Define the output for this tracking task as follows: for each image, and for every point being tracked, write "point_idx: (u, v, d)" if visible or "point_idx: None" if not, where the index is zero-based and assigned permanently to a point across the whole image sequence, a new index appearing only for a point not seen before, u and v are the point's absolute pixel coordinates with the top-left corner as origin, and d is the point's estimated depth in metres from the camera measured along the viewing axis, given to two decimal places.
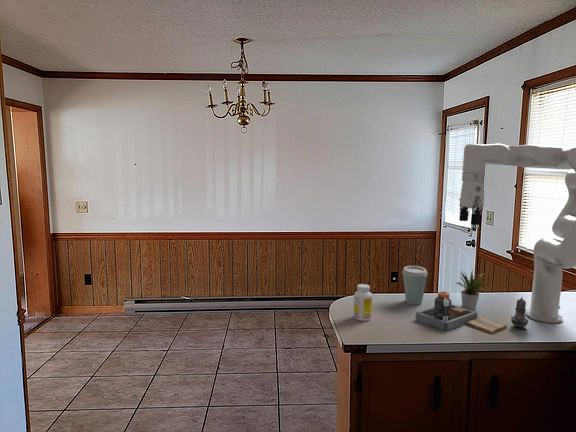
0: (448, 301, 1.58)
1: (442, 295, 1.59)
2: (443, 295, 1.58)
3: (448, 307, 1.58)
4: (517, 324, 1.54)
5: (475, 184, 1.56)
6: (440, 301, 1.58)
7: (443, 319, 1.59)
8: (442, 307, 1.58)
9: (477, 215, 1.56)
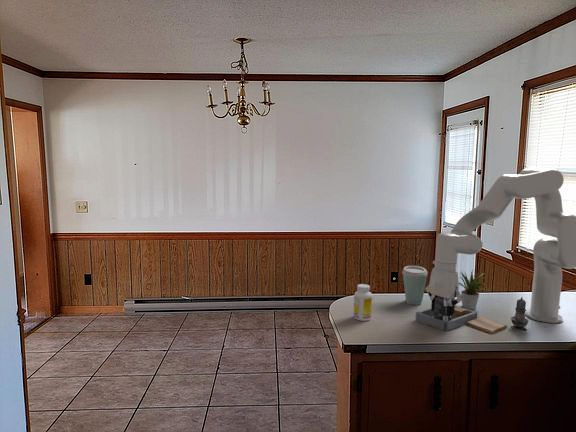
0: None
1: None
2: None
3: None
4: (517, 324, 1.54)
5: None
6: (440, 301, 1.58)
7: (443, 319, 1.59)
8: (442, 307, 1.58)
9: None
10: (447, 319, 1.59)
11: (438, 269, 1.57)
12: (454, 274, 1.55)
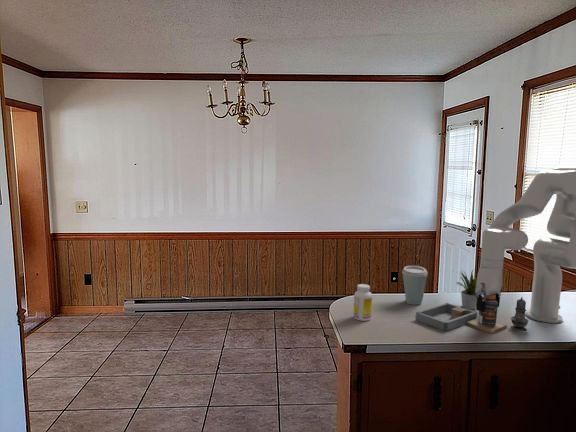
0: None
1: None
2: None
3: None
4: (517, 324, 1.54)
5: None
6: None
7: (479, 317, 1.58)
8: None
9: None
10: (481, 319, 1.57)
11: None
12: (481, 269, 1.53)
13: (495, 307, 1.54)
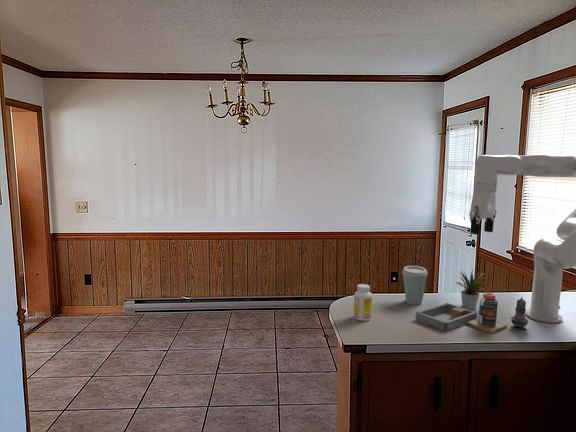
0: (483, 301, 1.56)
1: (483, 294, 1.58)
2: (483, 294, 1.57)
3: (482, 307, 1.56)
4: (517, 324, 1.54)
5: None
6: None
7: (479, 317, 1.58)
8: None
9: None
10: (481, 319, 1.57)
11: None
12: (475, 193, 1.60)
13: (495, 307, 1.54)
